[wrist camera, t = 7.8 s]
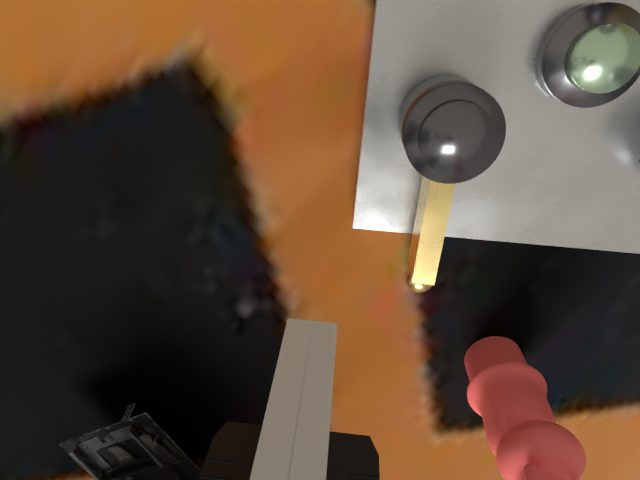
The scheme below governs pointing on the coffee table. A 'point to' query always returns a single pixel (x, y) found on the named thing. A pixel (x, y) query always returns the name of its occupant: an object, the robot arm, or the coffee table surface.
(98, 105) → the coffee table surface
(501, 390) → the figurine
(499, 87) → the tribrach plate
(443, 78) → the screw
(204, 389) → the coffee table surface
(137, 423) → the vintage camera
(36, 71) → the coffee table surface
